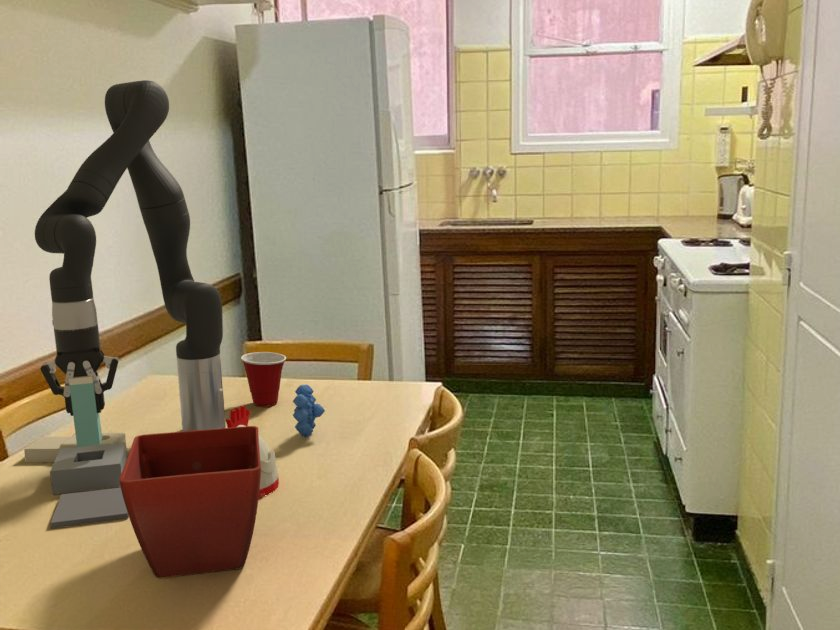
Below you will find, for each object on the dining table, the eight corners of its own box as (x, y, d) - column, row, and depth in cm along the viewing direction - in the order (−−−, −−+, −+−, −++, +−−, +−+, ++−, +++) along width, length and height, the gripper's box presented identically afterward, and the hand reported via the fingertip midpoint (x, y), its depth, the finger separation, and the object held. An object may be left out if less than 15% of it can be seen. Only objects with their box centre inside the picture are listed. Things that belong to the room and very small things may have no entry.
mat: (132, 491, 151) (132, 486, 150) (127, 518, 139) (127, 513, 139) (62, 499, 148) (61, 494, 147) (51, 528, 136) (50, 522, 136)
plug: (102, 437, 158) (94, 371, 156) (100, 444, 154) (92, 376, 152) (79, 440, 157) (71, 373, 155) (77, 447, 153) (68, 378, 151)
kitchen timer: (292, 477, 156) (287, 401, 153) (254, 507, 143) (249, 424, 140) (227, 469, 160) (222, 395, 157) (186, 497, 147) (179, 417, 145)
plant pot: (268, 577, 119) (261, 467, 116) (128, 595, 115) (117, 481, 112) (264, 521, 137) (258, 424, 134) (144, 534, 133) (134, 435, 130)
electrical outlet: (41, 432, 173) (125, 432, 172) (43, 451, 174) (127, 450, 173) (23, 444, 166) (111, 444, 165) (25, 463, 167) (113, 463, 166)
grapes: (321, 446, 171) (318, 391, 169) (288, 446, 172) (285, 391, 170) (331, 428, 183) (328, 375, 180) (300, 428, 183) (298, 375, 181)
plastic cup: (284, 409, 197) (282, 360, 194) (239, 410, 197) (236, 361, 195) (292, 396, 207) (289, 350, 205) (249, 397, 208) (246, 350, 205)
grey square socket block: (127, 463, 164) (125, 442, 163) (122, 486, 153) (120, 463, 152) (62, 470, 161) (60, 448, 160) (52, 494, 150) (50, 471, 149)
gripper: (118, 316, 156) (127, 403, 160) (37, 323, 153) (48, 411, 156) (115, 324, 149) (124, 415, 153) (29, 331, 146) (41, 424, 149)
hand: (86, 412), depth 155 cm, fingers closed on plug, 4 cm apart
